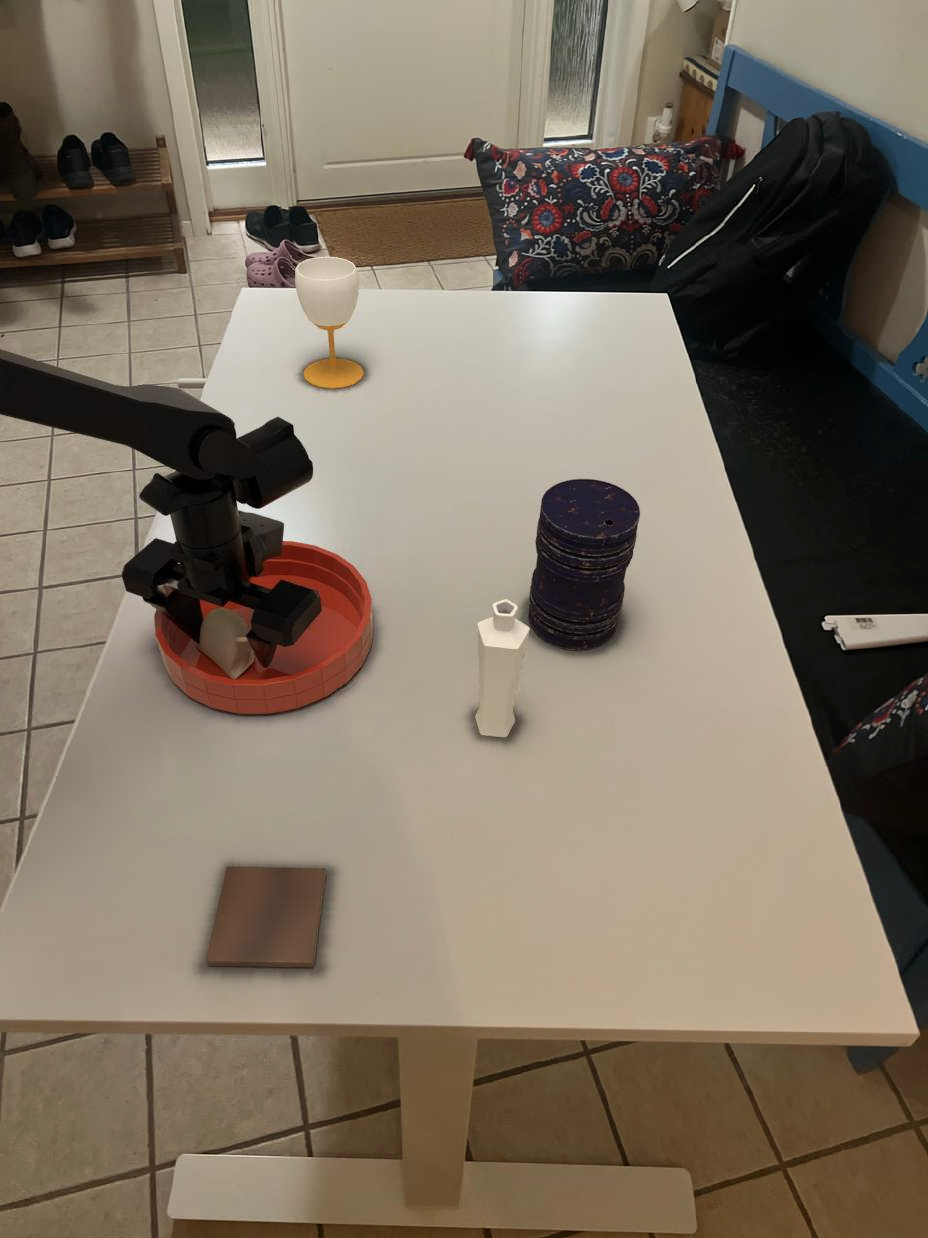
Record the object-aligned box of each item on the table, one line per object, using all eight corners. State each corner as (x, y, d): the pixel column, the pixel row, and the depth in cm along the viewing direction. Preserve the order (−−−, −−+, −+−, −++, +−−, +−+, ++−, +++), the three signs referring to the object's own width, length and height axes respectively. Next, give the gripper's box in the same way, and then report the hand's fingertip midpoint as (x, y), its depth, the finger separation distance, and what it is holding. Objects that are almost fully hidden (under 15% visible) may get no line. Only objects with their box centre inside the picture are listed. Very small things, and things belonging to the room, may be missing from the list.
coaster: (207, 966, 67) (205, 961, 66) (228, 871, 73) (226, 866, 72) (313, 968, 67) (312, 963, 67) (325, 873, 73) (325, 868, 72)
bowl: (366, 717, 85) (364, 685, 82) (140, 716, 84) (130, 684, 81) (377, 573, 101) (376, 542, 98) (187, 570, 100) (180, 539, 97)
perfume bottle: (524, 737, 84) (539, 623, 74) (479, 744, 83) (487, 629, 73) (513, 701, 87) (525, 587, 77) (469, 707, 87) (476, 592, 76)
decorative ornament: (228, 626, 93) (220, 588, 89) (275, 669, 89) (269, 630, 85) (194, 645, 91) (184, 606, 87) (241, 689, 87) (233, 651, 83)
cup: (335, 354, 139) (327, 250, 128) (376, 373, 135) (372, 268, 124) (290, 374, 134) (279, 267, 123) (332, 395, 129) (324, 287, 118)
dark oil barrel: (509, 607, 97) (519, 495, 87) (579, 578, 101) (597, 467, 91) (564, 664, 91) (582, 550, 81) (636, 630, 95) (663, 518, 85)
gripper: (345, 507, 81) (354, 630, 92) (177, 457, 86) (204, 579, 97) (279, 579, 74) (298, 703, 84) (99, 520, 79) (138, 644, 90)
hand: (234, 652), depth 89 cm, fingers closed on decorative ornament, 7 cm apart
